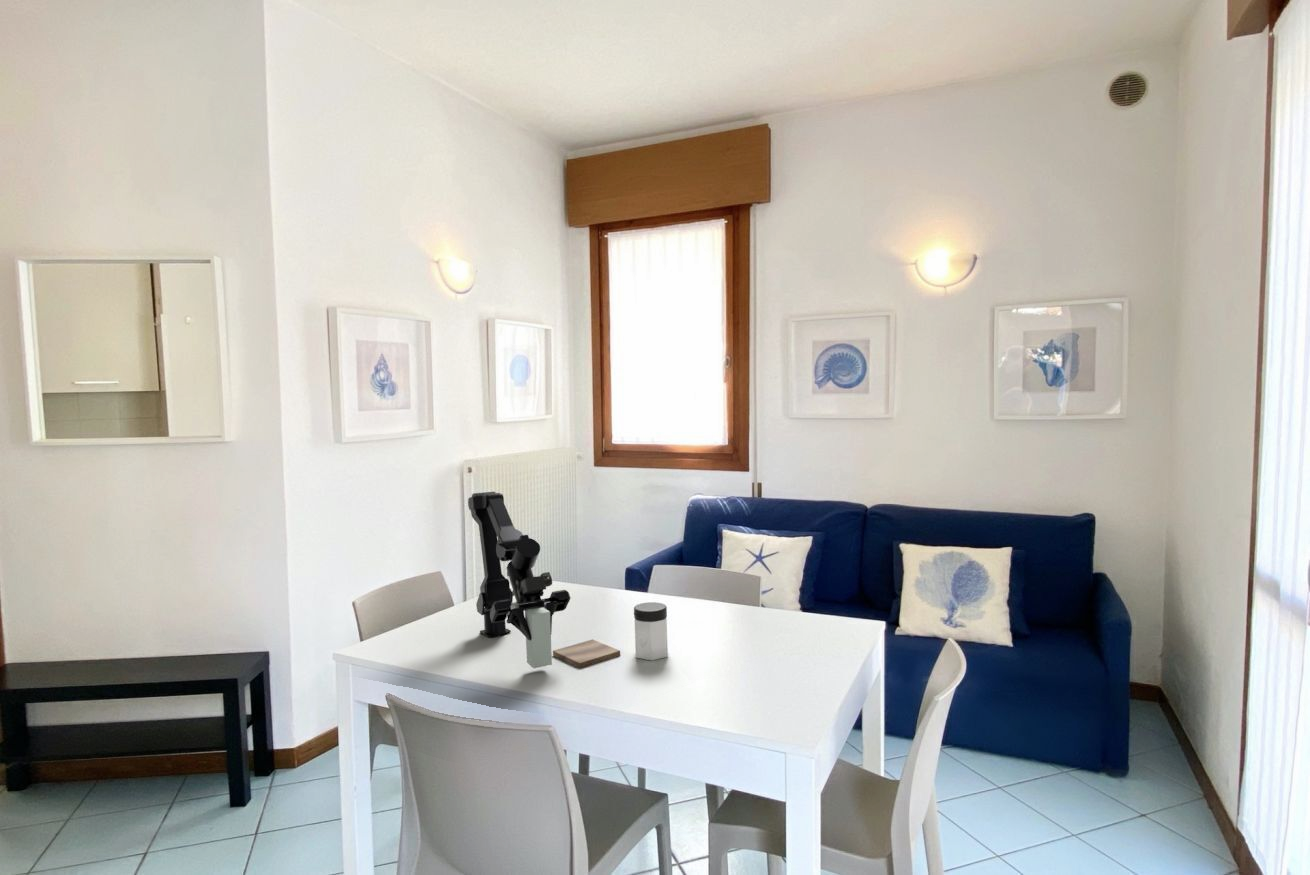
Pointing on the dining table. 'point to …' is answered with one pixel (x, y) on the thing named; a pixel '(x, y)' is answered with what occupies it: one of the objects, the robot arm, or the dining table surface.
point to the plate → (586, 653)
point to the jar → (651, 631)
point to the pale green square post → (538, 637)
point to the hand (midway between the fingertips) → (540, 637)
